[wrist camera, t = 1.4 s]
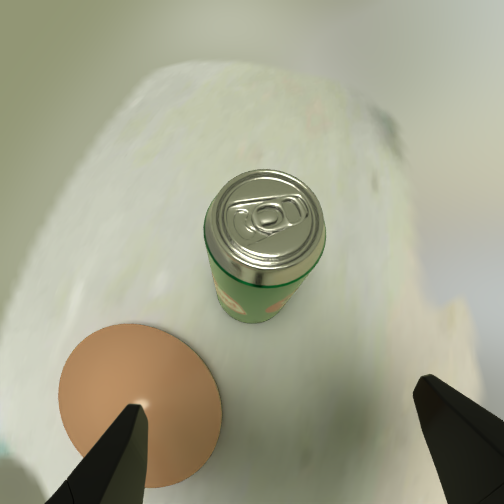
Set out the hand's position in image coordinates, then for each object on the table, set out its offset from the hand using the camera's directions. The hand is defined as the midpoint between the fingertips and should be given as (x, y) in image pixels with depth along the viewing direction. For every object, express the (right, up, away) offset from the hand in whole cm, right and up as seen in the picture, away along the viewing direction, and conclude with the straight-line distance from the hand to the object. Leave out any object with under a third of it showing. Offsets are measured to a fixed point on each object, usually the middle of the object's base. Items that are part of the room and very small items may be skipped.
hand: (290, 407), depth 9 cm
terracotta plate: (-9, -6, +11) cm, 16 cm away
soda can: (-1, +2, +15) cm, 15 cm away
